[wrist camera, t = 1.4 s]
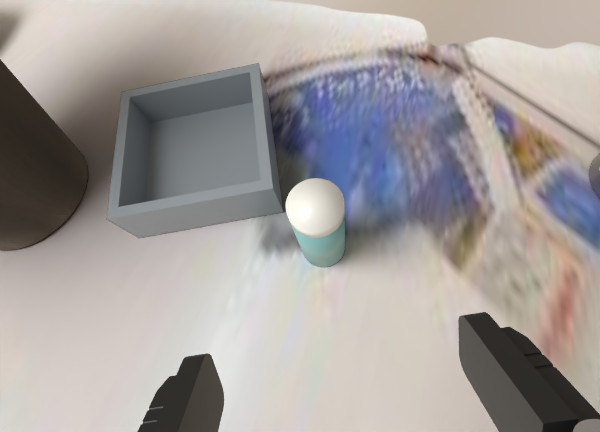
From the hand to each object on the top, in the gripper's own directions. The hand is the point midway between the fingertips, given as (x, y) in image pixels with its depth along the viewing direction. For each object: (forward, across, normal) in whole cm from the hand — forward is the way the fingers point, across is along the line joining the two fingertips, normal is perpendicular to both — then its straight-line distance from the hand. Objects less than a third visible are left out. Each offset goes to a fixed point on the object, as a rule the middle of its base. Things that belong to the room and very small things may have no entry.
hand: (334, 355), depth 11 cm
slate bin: (+35, +13, -2) cm, 37 cm away
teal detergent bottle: (+25, 0, +8) cm, 26 cm away
